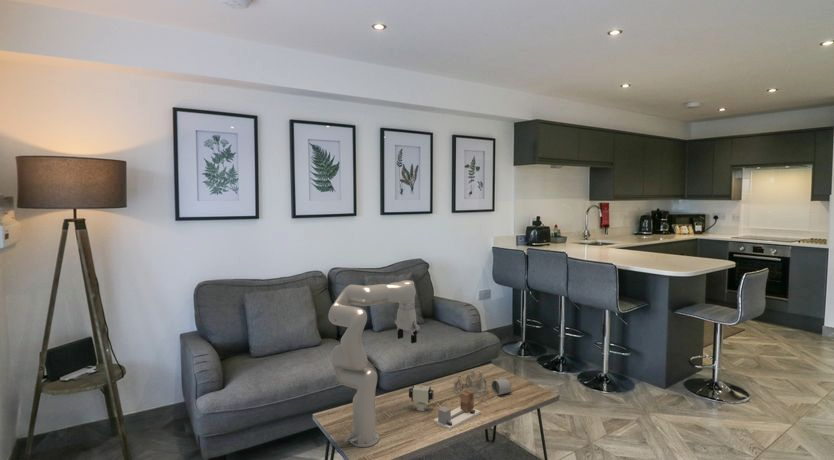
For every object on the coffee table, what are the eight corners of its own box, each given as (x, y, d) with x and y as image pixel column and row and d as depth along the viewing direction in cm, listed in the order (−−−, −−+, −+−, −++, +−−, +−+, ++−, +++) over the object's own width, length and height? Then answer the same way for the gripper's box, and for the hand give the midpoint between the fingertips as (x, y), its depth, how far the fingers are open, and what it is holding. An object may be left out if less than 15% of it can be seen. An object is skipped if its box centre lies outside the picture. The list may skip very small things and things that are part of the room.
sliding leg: (471, 413, 213) (471, 397, 212) (460, 408, 218) (460, 392, 217) (478, 410, 216) (478, 394, 215) (467, 405, 221) (467, 389, 220)
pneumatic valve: (432, 412, 218) (432, 388, 217) (408, 410, 221) (408, 386, 220) (434, 407, 224) (434, 383, 223) (411, 405, 226) (411, 382, 225)
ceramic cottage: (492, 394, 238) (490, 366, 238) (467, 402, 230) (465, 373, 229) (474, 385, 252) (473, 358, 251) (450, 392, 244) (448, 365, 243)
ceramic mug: (512, 394, 238) (512, 380, 237) (499, 397, 234) (499, 383, 234) (499, 387, 247) (499, 373, 247) (487, 390, 244) (487, 376, 243)
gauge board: (449, 430, 202) (449, 414, 201) (433, 422, 209) (433, 406, 209) (480, 413, 217) (480, 399, 217) (464, 406, 224) (464, 392, 224)
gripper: (389, 304, 225) (389, 338, 226) (413, 310, 212) (413, 346, 214) (400, 301, 230) (401, 334, 231) (424, 307, 218) (424, 342, 219)
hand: (407, 340), depth 223 cm, fingers open, 9 cm apart
